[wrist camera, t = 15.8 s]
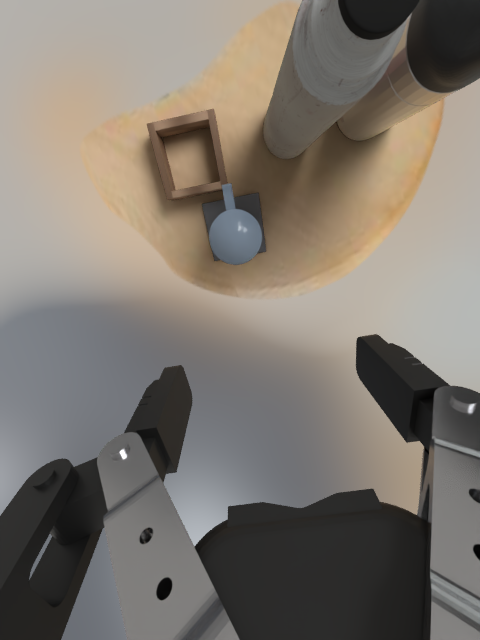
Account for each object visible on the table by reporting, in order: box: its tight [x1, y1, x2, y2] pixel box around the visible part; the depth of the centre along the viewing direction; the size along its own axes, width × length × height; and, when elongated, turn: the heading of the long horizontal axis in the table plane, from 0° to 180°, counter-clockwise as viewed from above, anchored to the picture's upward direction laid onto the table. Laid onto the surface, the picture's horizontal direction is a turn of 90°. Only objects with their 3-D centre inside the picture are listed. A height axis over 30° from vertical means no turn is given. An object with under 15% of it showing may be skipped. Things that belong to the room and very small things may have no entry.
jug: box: [209, 183, 262, 265], centre depth 36 cm, size 6×9×16 cm
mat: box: [202, 193, 266, 261], centre depth 44 cm, size 10×10×1 cm
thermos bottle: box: [263, 0, 420, 159], centre depth 26 cm, size 8×8×28 cm
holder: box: [147, 109, 227, 200], centre depth 38 cm, size 10×10×4 cm
